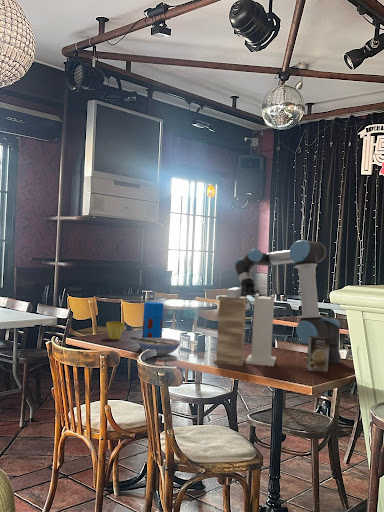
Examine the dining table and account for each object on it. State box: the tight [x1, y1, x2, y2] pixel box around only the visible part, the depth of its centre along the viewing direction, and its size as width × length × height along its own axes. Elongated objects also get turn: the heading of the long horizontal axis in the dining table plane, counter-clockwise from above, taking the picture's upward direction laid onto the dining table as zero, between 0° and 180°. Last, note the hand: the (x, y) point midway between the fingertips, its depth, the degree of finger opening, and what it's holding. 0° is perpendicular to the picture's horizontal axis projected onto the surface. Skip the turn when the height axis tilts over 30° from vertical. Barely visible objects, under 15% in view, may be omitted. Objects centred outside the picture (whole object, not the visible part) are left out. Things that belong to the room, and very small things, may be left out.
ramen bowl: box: [130, 337, 181, 357], centre depth 294 cm, size 25×23×8 cm
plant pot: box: [106, 321, 125, 340], centre depth 342 cm, size 10×10×10 cm
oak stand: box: [213, 294, 247, 367], centre depth 285 cm, size 14×14×33 cm
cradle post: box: [245, 293, 277, 367], centre depth 292 cm, size 20×14×34 cm
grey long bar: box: [226, 286, 241, 298], centre depth 288 cm, size 28×4×4 cm, turn 169°
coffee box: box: [305, 336, 330, 373], centre depth 277 cm, size 9×6×16 cm
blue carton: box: [141, 301, 164, 338], centre depth 317 cm, size 11×11×25 cm
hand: (256, 311), depth 319 cm, fingers open, 13 cm apart
